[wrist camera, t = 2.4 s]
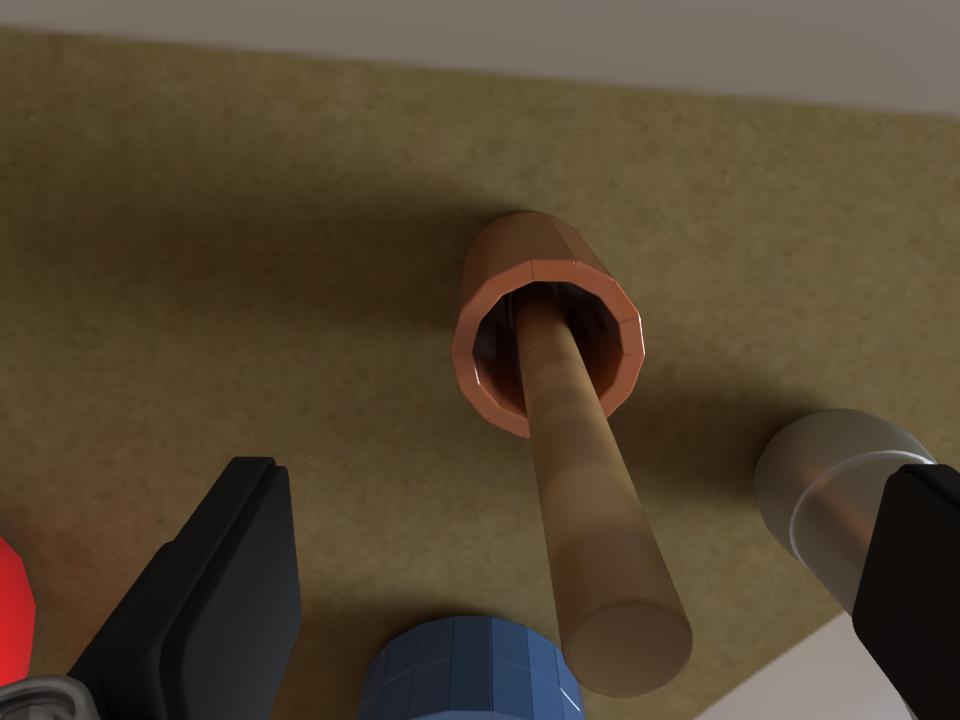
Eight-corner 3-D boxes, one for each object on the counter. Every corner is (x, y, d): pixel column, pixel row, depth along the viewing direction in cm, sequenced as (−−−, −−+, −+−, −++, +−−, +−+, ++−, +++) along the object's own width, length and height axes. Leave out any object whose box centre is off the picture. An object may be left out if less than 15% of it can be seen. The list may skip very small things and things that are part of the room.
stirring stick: (505, 252, 25) (560, 576, 8) (552, 253, 25) (716, 579, 8) (504, 307, 26) (550, 718, 8) (549, 308, 26) (691, 719, 8)
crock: (461, 210, 25) (450, 257, 17) (598, 212, 25) (655, 260, 17) (460, 337, 27) (450, 437, 19) (588, 339, 27) (635, 440, 19)
